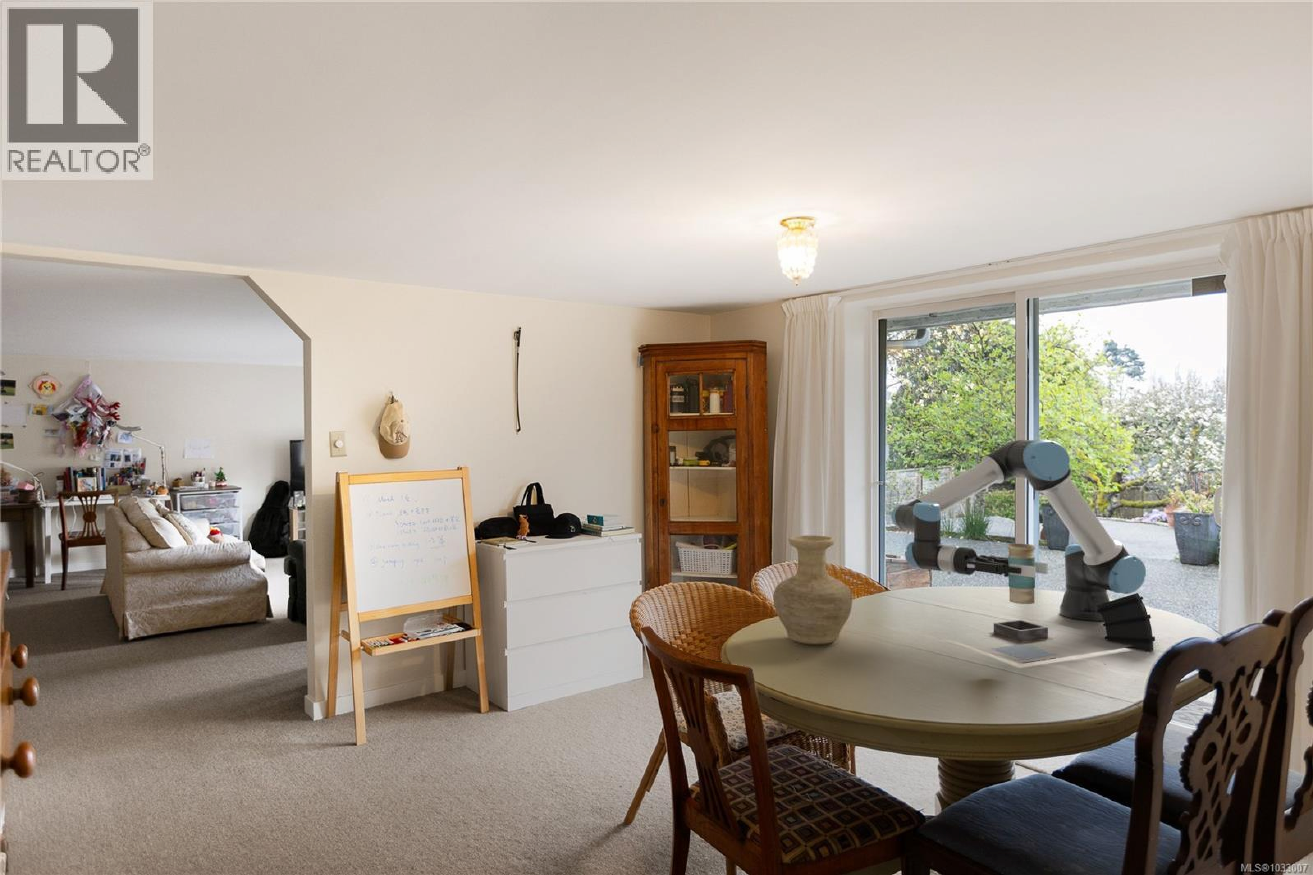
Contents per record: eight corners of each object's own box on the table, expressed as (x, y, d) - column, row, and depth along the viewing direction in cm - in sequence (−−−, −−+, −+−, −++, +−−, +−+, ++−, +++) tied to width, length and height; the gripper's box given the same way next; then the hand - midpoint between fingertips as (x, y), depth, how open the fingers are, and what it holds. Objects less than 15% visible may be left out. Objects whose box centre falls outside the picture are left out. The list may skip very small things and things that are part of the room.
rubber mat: (1023, 647, 216) (1023, 644, 216) (1056, 658, 205) (1055, 654, 205) (991, 652, 212) (991, 648, 212) (1023, 663, 202) (1023, 659, 202)
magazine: (1162, 648, 206) (1134, 594, 211) (1114, 660, 216) (1088, 608, 221) (1167, 646, 209) (1140, 592, 214) (1119, 657, 218) (1094, 605, 223)
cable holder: (1020, 632, 232) (1020, 618, 232) (1053, 642, 221) (1053, 627, 221) (988, 636, 228) (988, 622, 228) (1020, 646, 217) (1020, 632, 217)
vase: (781, 629, 241) (779, 532, 240) (856, 634, 233) (854, 534, 233) (767, 649, 220) (765, 542, 219) (848, 655, 212) (846, 544, 212)
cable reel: (1021, 598, 213) (1021, 543, 213) (1041, 603, 207) (1041, 546, 206) (1002, 600, 211) (1001, 544, 211) (1021, 605, 204) (1021, 548, 204)
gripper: (975, 569, 229) (1057, 579, 211) (940, 577, 216) (1024, 589, 198) (975, 543, 229) (1057, 552, 211) (940, 550, 216) (1023, 560, 198)
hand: (1040, 570), depth 205 cm, fingers closed on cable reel, 6 cm apart
